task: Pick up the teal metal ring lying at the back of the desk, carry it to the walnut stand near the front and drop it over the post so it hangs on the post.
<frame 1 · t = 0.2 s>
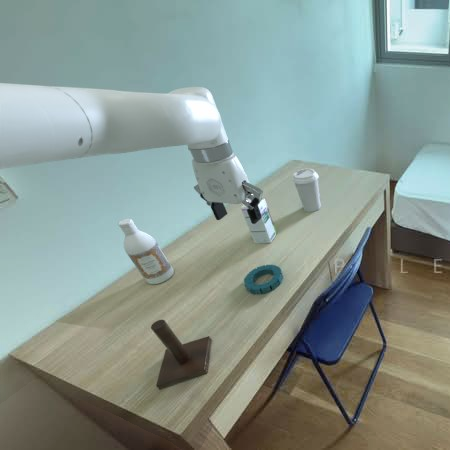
hand: (239, 218, 75), 23 cm above the table, tool pointing down, fingers open, 9 cm apart
ring: (264, 281, 89), on the table
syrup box: (266, 239, 106), on the table
stand: (187, 363, 68), on the table
bath foam: (161, 277, 92), on the table
coffee cup: (312, 208, 122), on the table
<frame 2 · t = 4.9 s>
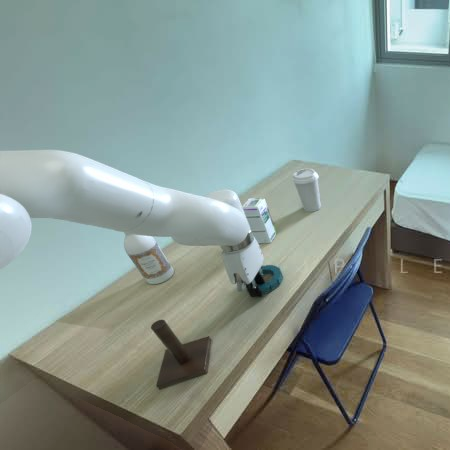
hand: (258, 291, 85), 0 cm above the table, tool pointing down, fingers closed on ring, 2 cm apart
ring: (264, 281, 89), on the table, touching gripper
everything else where it was.
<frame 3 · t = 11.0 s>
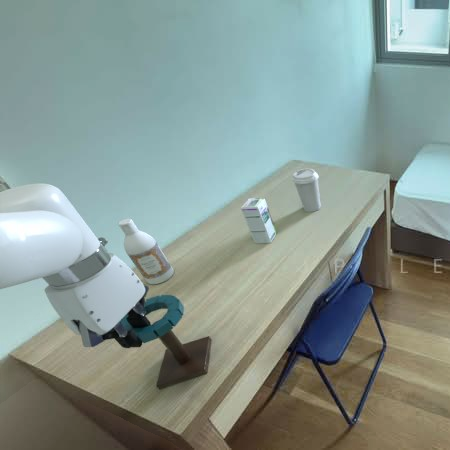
hand: (139, 337, 57), 15 cm above the table, tool pointing down, fingers closed on ring
ring: (154, 321, 60), point 15 cm above the table, touching gripper
everything else where it was.
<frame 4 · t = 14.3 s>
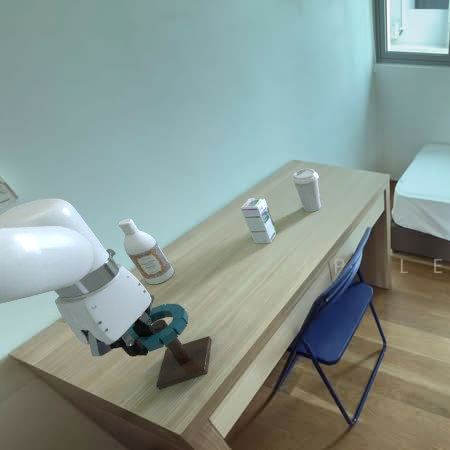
hand: (145, 346, 58), 12 cm above the table, tool pointing down, fingers closed on ring
ring: (159, 329, 61), point 12 cm above the table, touching gripper
everything else where it was.
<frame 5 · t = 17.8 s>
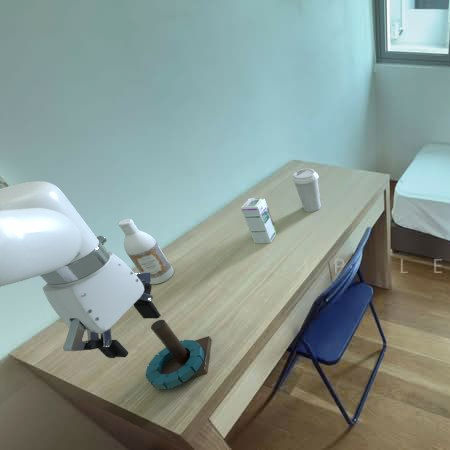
hand: (136, 334, 56), 16 cm above the table, tool pointing down, fingers open, 7 cm apart
ring: (178, 365, 66), point 1 cm above the table, touching stand
everything else where it was.
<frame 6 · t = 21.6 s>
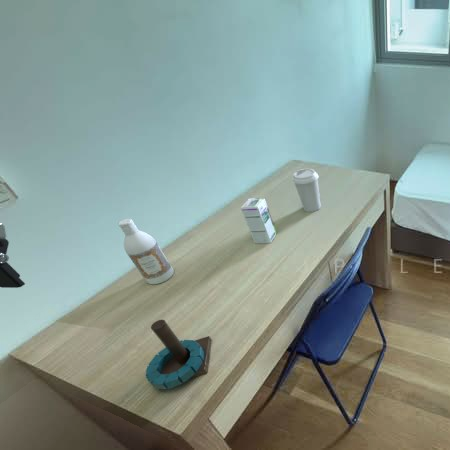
nothing on the table moved.
at the end: ring 1.6 cm from the stand (horizontally); ring point 1.5 cm above the table; the gripper is holding nothing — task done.
